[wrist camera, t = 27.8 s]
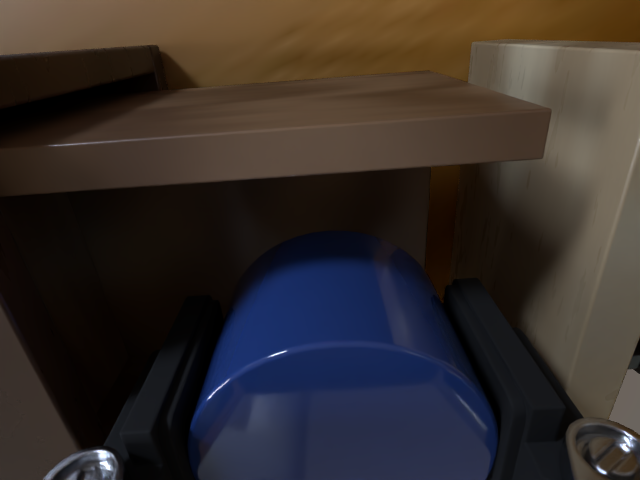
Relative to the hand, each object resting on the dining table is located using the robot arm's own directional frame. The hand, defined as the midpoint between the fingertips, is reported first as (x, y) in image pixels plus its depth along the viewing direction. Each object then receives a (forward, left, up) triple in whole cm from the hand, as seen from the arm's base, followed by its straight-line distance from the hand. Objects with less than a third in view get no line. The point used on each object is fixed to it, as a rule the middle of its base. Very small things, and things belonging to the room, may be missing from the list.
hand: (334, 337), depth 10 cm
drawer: (0, -1, -6) cm, 6 cm away
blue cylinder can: (0, 0, -1) cm, 1 cm away
